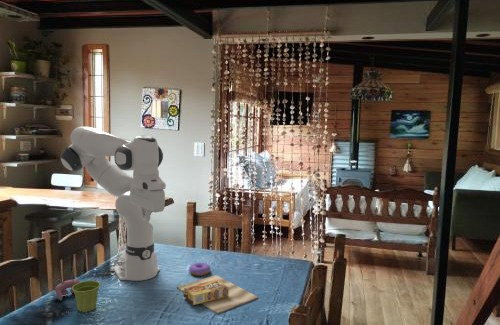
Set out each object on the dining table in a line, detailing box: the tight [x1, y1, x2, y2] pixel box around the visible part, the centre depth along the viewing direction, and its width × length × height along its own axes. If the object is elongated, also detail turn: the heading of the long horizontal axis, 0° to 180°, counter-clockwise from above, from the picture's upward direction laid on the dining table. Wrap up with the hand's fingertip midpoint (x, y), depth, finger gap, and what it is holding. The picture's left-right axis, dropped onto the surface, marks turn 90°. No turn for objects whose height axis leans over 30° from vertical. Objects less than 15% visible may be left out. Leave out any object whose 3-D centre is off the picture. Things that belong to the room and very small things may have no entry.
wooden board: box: [176, 274, 259, 315], centre depth 154 cm, size 28×20×1 cm
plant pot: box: [72, 280, 101, 313], centre depth 139 cm, size 9×9×9 cm
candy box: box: [183, 279, 229, 306], centre depth 149 cm, size 9×4×15 cm
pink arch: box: [54, 279, 81, 300], centre depth 149 cm, size 10×5×7 cm, turn 136°
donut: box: [188, 262, 211, 277], centre depth 175 cm, size 10×9×5 cm
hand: (146, 219), depth 137 cm, fingers closed
